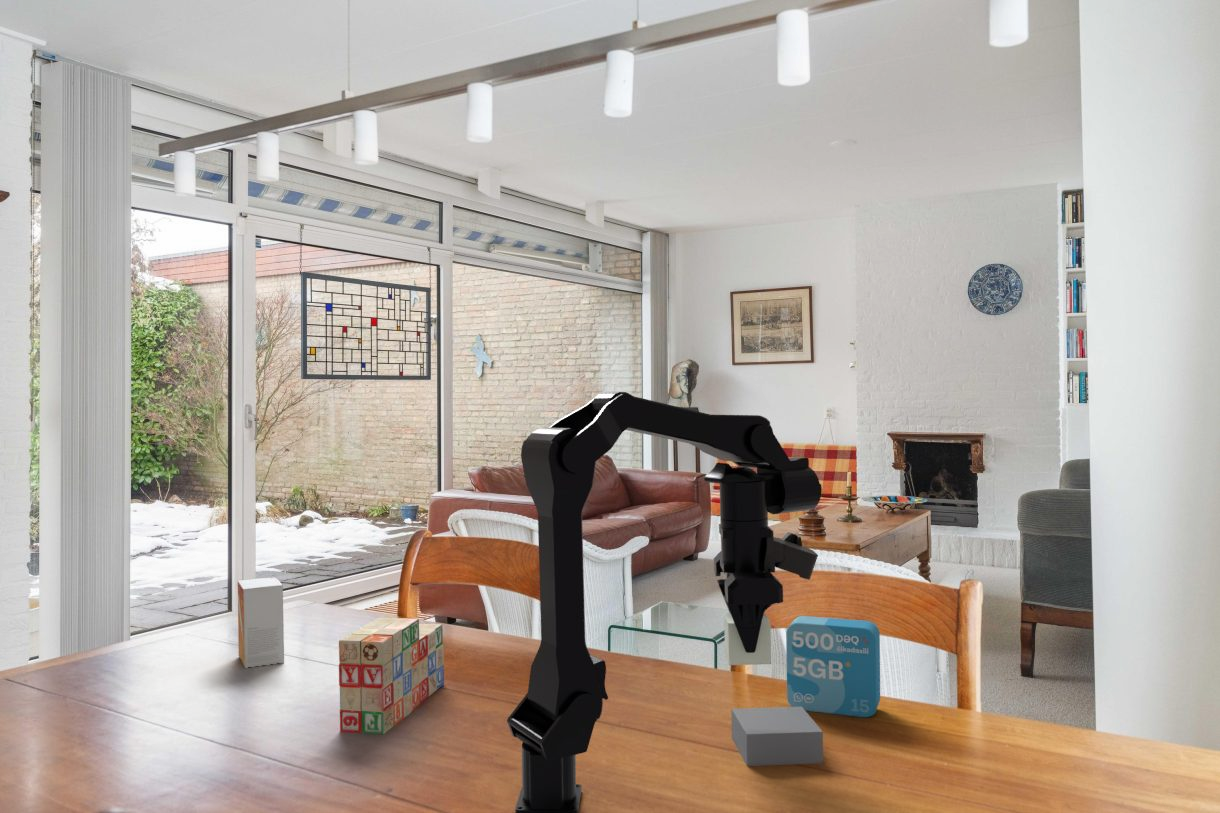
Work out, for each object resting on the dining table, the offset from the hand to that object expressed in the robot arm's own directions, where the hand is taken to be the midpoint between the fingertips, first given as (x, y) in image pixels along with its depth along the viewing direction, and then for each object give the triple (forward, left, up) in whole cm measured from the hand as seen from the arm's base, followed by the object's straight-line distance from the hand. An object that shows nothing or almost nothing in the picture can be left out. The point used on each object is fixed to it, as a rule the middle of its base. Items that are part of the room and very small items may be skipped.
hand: (747, 646), depth 112 cm
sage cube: (0, 0, -2) cm, 2 cm away
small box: (+39, +77, -13) cm, 87 cm away
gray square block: (0, -3, -13) cm, 13 cm away
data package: (+15, -13, -13) cm, 24 cm away
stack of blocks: (+16, +48, -13) cm, 52 cm away
